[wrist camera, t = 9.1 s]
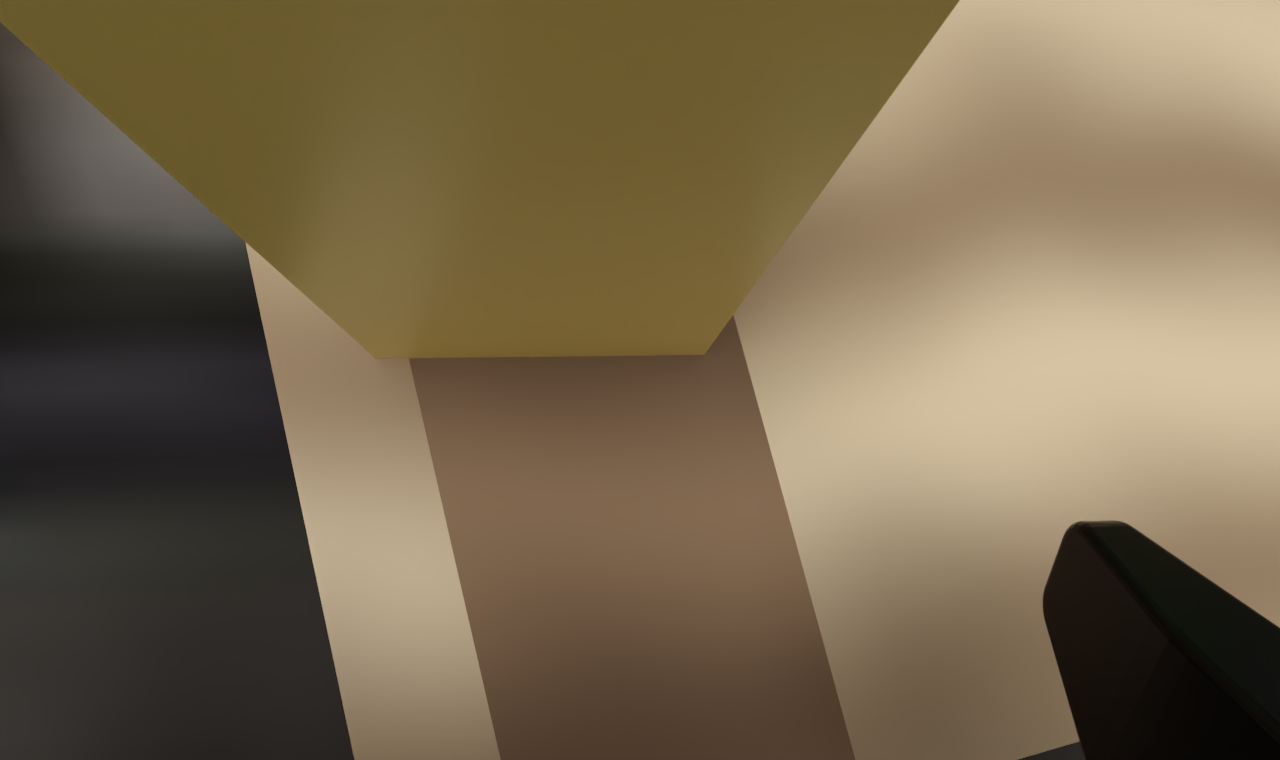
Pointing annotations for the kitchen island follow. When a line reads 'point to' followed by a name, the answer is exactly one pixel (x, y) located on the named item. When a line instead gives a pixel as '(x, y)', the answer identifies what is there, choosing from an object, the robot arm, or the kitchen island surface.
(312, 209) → the tall mustard yellow pillar
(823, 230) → the panel
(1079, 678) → the robot arm
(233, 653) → the kitchen island surface
